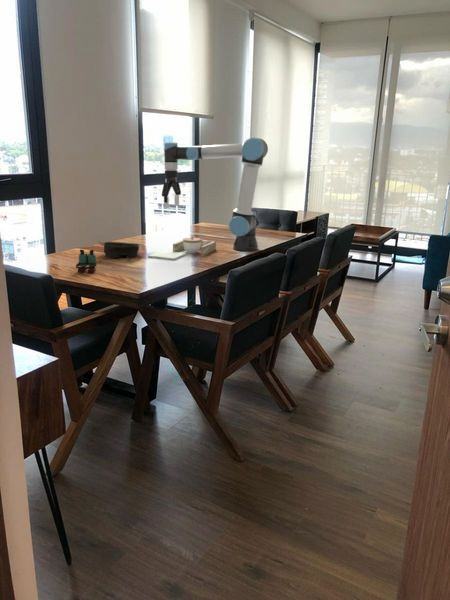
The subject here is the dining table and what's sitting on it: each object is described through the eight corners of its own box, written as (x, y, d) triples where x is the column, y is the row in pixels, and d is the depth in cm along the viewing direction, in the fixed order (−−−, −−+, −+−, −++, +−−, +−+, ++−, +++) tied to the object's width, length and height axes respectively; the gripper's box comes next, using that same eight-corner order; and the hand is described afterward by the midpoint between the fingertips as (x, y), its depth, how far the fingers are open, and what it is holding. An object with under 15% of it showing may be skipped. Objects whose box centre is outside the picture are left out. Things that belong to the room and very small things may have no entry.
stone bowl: (100, 261, 259) (99, 243, 257) (99, 254, 283) (97, 238, 281) (147, 258, 266) (146, 241, 264) (142, 252, 289) (141, 237, 287)
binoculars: (73, 254, 229) (78, 248, 238) (75, 275, 233) (80, 268, 242) (92, 254, 229) (97, 248, 238) (94, 276, 233) (98, 269, 242)
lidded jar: (198, 254, 282) (198, 238, 279) (180, 253, 284) (180, 237, 281) (203, 251, 292) (203, 235, 289) (185, 249, 294) (185, 234, 291)
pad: (186, 254, 281) (186, 253, 280) (174, 260, 266) (174, 258, 266) (161, 252, 286) (161, 250, 286) (147, 257, 271) (147, 255, 271)
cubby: (215, 249, 297) (215, 241, 296) (203, 255, 279) (203, 247, 278) (186, 246, 303) (186, 238, 302) (172, 252, 286) (172, 244, 284)
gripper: (175, 169, 299) (175, 204, 305) (155, 170, 277) (156, 208, 283) (186, 169, 297) (186, 205, 303) (166, 170, 274) (167, 209, 280)
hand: (171, 207), depth 293 cm, fingers open, 13 cm apart
